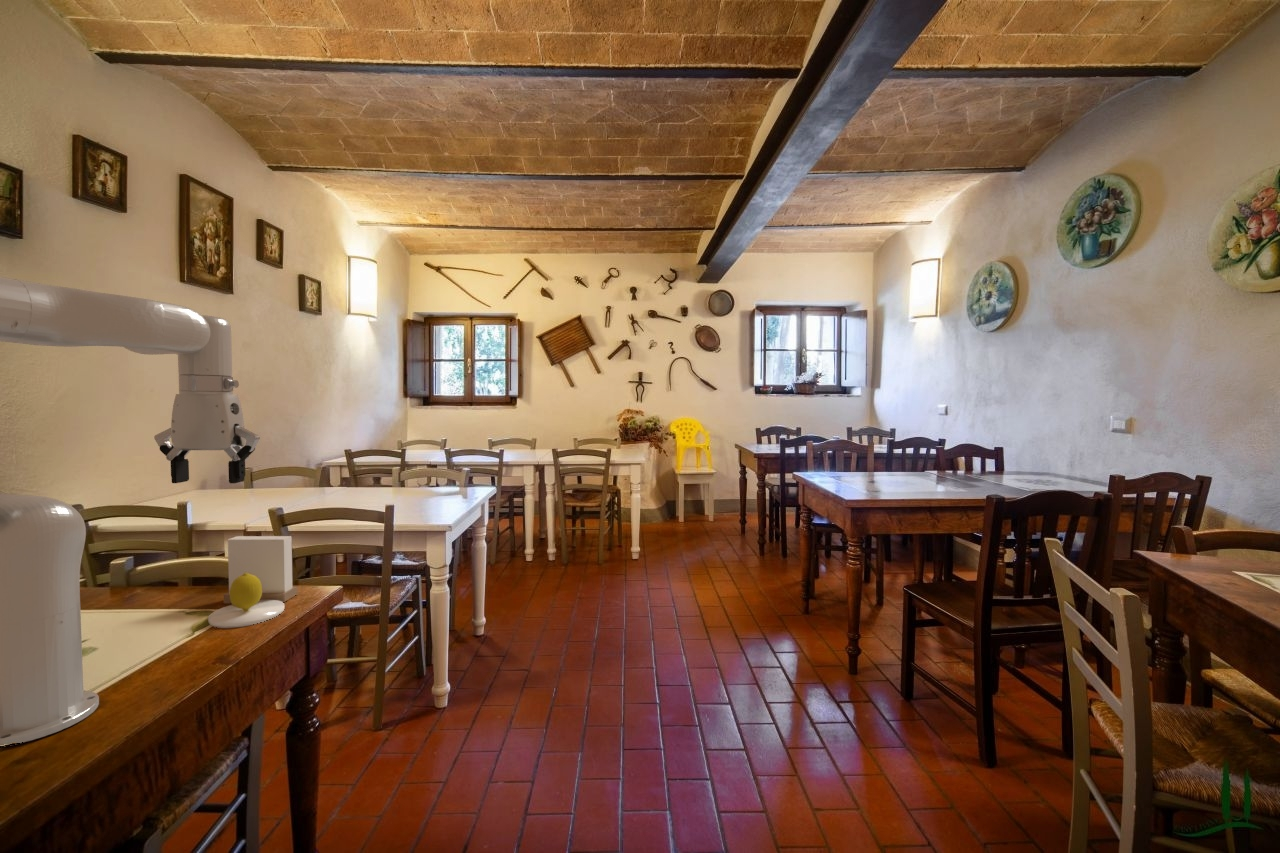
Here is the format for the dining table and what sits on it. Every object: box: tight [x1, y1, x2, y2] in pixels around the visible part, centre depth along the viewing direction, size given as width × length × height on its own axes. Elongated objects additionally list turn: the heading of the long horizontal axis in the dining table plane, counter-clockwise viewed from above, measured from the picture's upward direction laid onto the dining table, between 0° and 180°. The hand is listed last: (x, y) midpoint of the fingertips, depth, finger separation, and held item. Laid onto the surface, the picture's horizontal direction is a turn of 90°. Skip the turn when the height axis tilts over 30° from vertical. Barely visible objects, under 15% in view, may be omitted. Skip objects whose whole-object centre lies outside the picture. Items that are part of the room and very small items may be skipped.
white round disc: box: [207, 600, 286, 629], centre depth 116 cm, size 13×13×1 cm
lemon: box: [229, 573, 262, 611], centre depth 115 cm, size 6×6×8 cm
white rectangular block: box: [223, 535, 298, 604], centre depth 125 cm, size 5×13×14 cm, turn 93°
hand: (208, 482), depth 99 cm, fingers open, 9 cm apart
